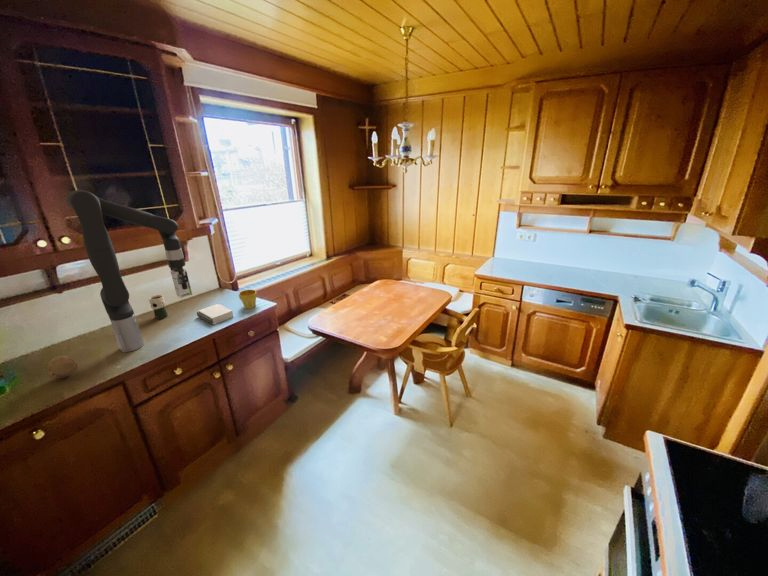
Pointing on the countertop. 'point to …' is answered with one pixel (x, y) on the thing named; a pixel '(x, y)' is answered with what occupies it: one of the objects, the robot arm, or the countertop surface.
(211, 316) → the dock
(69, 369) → the natural sponge
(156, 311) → the character mug
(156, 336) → the countertop surface
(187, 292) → the syrup box
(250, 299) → the plant pot
